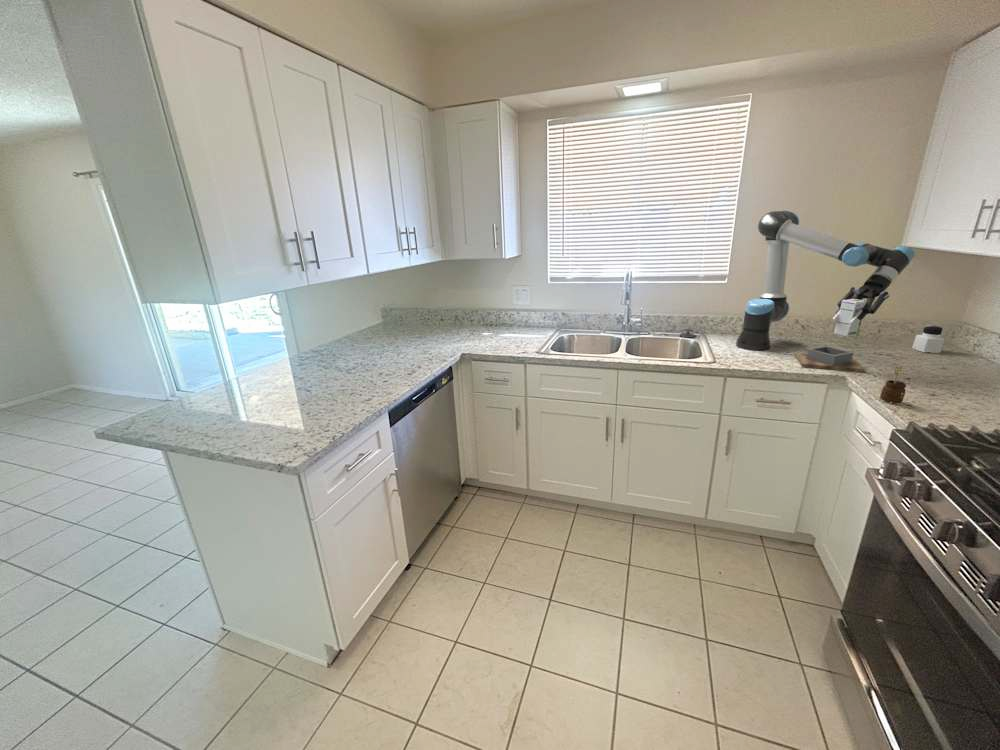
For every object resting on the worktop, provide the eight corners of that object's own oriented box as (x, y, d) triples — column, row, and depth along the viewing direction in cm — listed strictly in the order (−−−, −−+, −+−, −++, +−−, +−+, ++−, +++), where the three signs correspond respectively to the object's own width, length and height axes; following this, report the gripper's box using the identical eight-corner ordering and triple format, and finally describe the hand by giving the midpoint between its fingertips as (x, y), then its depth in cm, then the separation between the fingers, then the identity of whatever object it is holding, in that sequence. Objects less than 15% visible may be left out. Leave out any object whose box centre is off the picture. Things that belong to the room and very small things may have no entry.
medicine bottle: (940, 353, 194) (949, 328, 190) (923, 353, 195) (931, 328, 191) (928, 349, 200) (936, 324, 196) (911, 348, 201) (919, 324, 197)
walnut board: (801, 366, 182) (802, 363, 182) (793, 355, 197) (794, 352, 196) (864, 372, 174) (865, 369, 173) (851, 360, 188) (852, 357, 188)
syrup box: (847, 336, 172) (857, 301, 167) (833, 333, 178) (842, 299, 172) (857, 335, 174) (867, 300, 168) (843, 331, 179) (852, 298, 174)
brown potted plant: (880, 402, 146) (890, 370, 142) (878, 396, 151) (887, 365, 147) (903, 405, 143) (914, 373, 139) (899, 399, 148) (910, 367, 144)
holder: (805, 358, 188) (807, 349, 186) (823, 355, 192) (825, 345, 190) (832, 366, 178) (835, 356, 176) (850, 362, 181) (853, 352, 180)
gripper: (910, 289, 165) (870, 333, 166) (857, 282, 182) (822, 323, 183) (906, 276, 162) (865, 322, 163) (852, 271, 178) (816, 312, 179)
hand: (842, 322), depth 173 cm, fingers closed on syrup box, 6 cm apart
